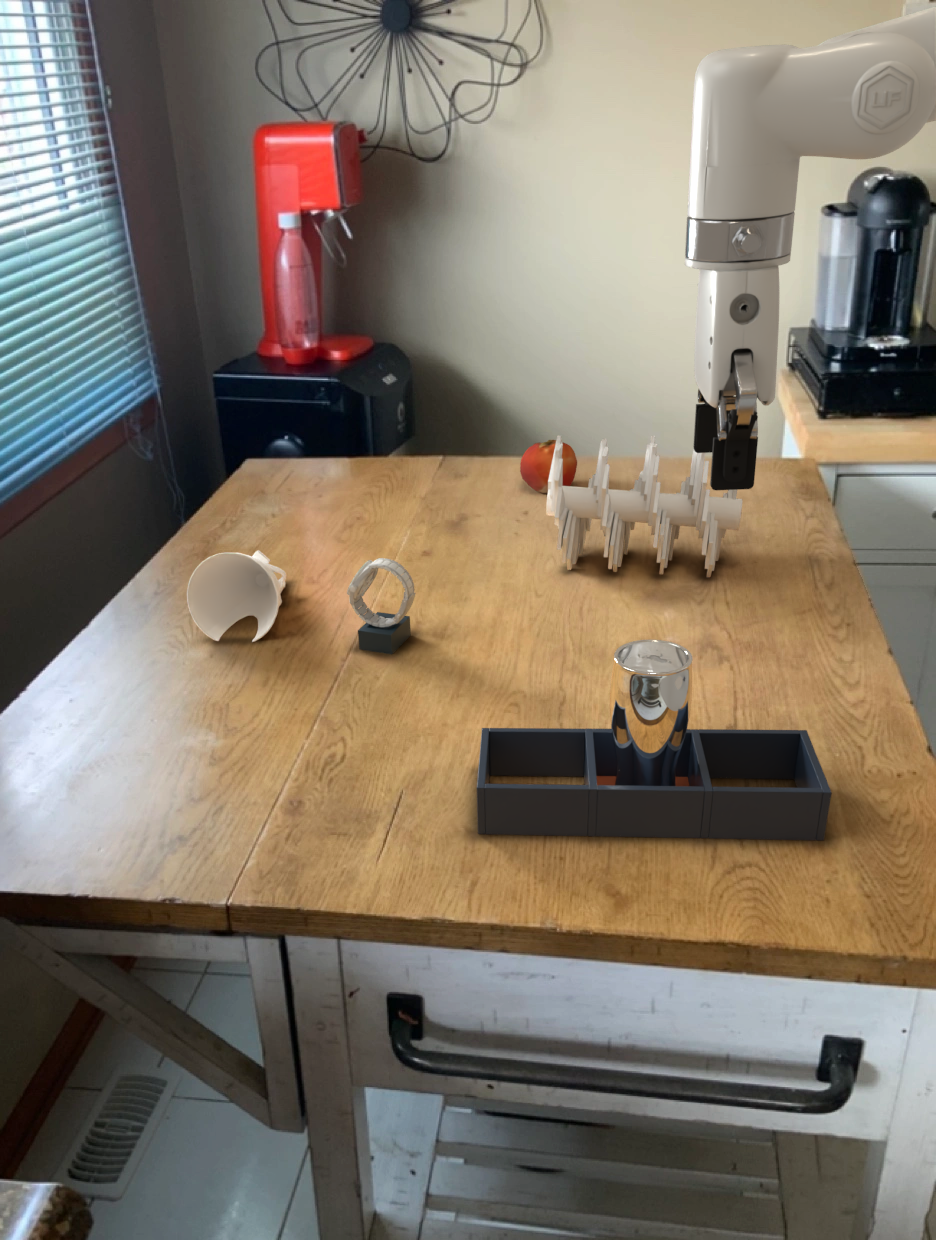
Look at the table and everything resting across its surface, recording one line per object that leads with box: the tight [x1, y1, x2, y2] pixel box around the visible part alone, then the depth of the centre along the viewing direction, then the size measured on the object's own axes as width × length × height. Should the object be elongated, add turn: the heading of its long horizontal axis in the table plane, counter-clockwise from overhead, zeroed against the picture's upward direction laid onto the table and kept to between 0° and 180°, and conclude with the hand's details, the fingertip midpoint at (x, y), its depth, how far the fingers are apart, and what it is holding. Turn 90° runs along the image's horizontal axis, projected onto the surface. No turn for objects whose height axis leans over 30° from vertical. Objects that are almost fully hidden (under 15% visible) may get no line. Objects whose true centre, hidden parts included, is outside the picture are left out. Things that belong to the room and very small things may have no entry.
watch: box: [346, 557, 416, 655], centre depth 134 cm, size 6×8×11 cm
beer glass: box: [609, 639, 694, 786], centre depth 100 cm, size 7×7×15 cm
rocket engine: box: [186, 549, 287, 643], centre depth 146 cm, size 12×12×18 cm
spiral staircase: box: [545, 435, 743, 578], centre depth 149 cm, size 18×18×25 cm
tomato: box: [519, 439, 578, 494], centre depth 182 cm, size 9×9×8 cm
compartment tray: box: [476, 727, 833, 841], centre depth 102 cm, size 30×10×6 cm, turn 84°
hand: (721, 469), depth 91 cm, fingers open, 9 cm apart
